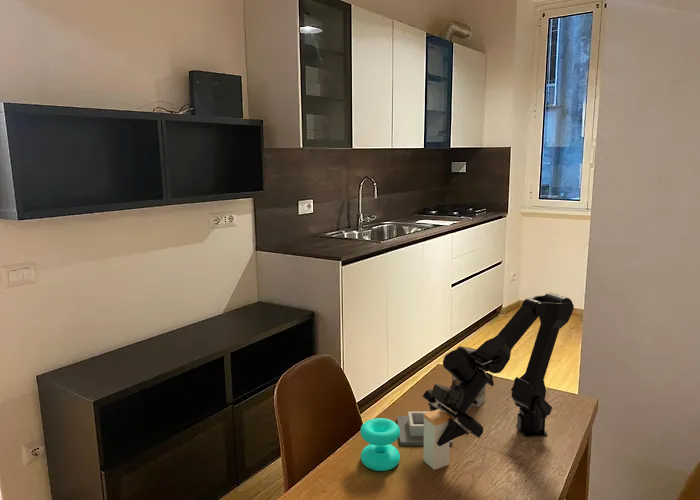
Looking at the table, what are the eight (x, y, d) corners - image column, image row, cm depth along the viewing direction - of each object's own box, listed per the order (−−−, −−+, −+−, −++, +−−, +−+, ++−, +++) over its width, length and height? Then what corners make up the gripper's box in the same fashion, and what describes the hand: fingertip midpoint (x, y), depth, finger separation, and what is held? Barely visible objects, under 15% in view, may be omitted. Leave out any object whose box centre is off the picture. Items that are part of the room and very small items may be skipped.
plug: (438, 455, 141) (439, 409, 139) (449, 464, 137) (450, 417, 134) (422, 460, 139) (423, 413, 137) (434, 470, 135) (434, 422, 132)
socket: (444, 418, 159) (444, 406, 159) (452, 445, 146) (452, 431, 145) (396, 419, 160) (396, 406, 159) (400, 445, 146) (400, 431, 145)
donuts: (352, 427, 136) (376, 412, 144) (352, 463, 138) (376, 446, 146) (384, 440, 130) (407, 424, 138) (384, 478, 132) (407, 459, 140)
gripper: (428, 360, 143) (392, 408, 141) (475, 388, 127) (435, 443, 124) (452, 381, 148) (418, 429, 146) (499, 411, 132) (462, 464, 129)
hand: (432, 440), depth 136 cm, fingers open, 5 cm apart
